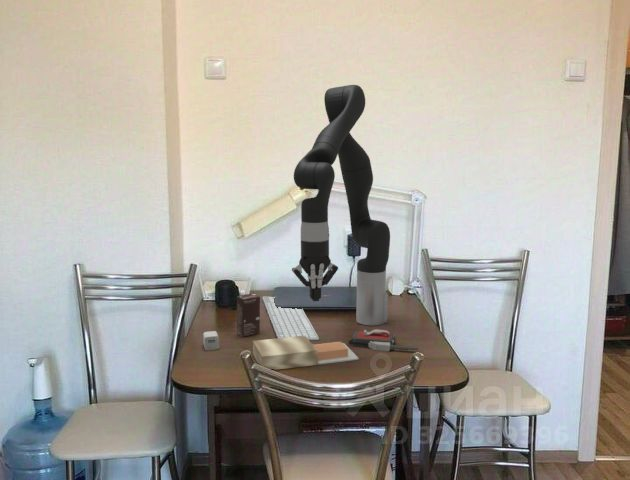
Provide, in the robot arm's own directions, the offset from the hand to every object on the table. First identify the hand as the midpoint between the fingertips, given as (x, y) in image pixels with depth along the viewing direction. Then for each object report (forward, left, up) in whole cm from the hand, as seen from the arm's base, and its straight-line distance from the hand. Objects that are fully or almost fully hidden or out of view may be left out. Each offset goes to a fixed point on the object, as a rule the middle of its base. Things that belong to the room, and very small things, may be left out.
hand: (315, 300), depth 163 cm
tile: (-4, +1, -16) cm, 16 cm away
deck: (+9, 0, -16) cm, 18 cm away
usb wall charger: (+27, -17, -16) cm, 35 cm away
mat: (-5, 0, -16) cm, 17 cm away
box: (+14, -23, -16) cm, 32 cm away
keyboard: (-1, -34, -17) cm, 38 cm away
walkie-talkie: (-21, -2, -17) cm, 27 cm away
